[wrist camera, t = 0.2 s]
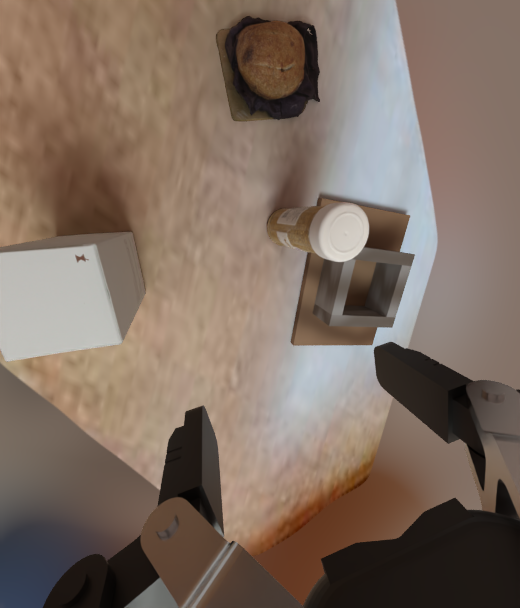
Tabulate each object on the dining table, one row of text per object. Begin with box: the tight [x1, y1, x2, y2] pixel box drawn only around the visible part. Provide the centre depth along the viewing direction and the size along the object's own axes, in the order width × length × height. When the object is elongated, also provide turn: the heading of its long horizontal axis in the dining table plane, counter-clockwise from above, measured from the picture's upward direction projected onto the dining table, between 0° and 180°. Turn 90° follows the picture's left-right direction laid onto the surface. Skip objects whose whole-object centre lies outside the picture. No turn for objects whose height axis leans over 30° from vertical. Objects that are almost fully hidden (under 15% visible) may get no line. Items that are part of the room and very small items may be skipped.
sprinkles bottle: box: [267, 202, 369, 262], centre depth 26 cm, size 5×5×14 cm
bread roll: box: [216, 16, 320, 121], centre depth 25 cm, size 11×8×4 cm
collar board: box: [291, 198, 415, 345], centre depth 34 cm, size 20×14×6 cm
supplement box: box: [0, 232, 146, 362], centre depth 22 cm, size 7×7×13 cm
